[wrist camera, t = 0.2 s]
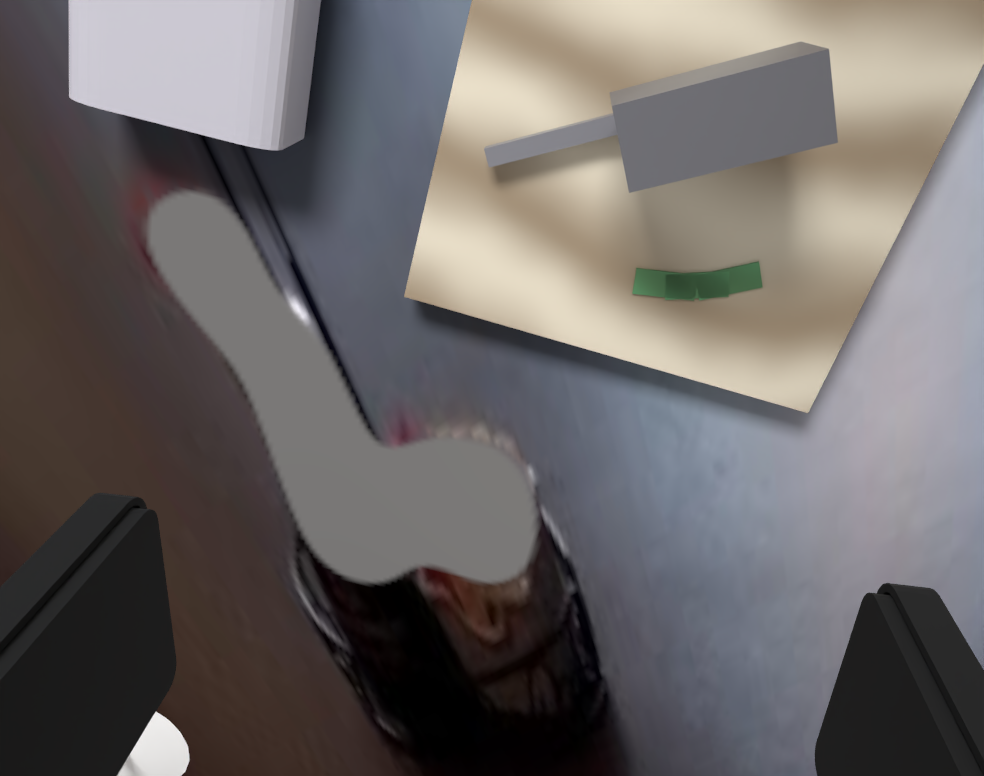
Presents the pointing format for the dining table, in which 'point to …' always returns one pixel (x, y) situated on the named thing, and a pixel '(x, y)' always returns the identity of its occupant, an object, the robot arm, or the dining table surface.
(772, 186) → the wooden cutting board
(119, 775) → the wineglass
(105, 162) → the dining table surface
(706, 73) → the key
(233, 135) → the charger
